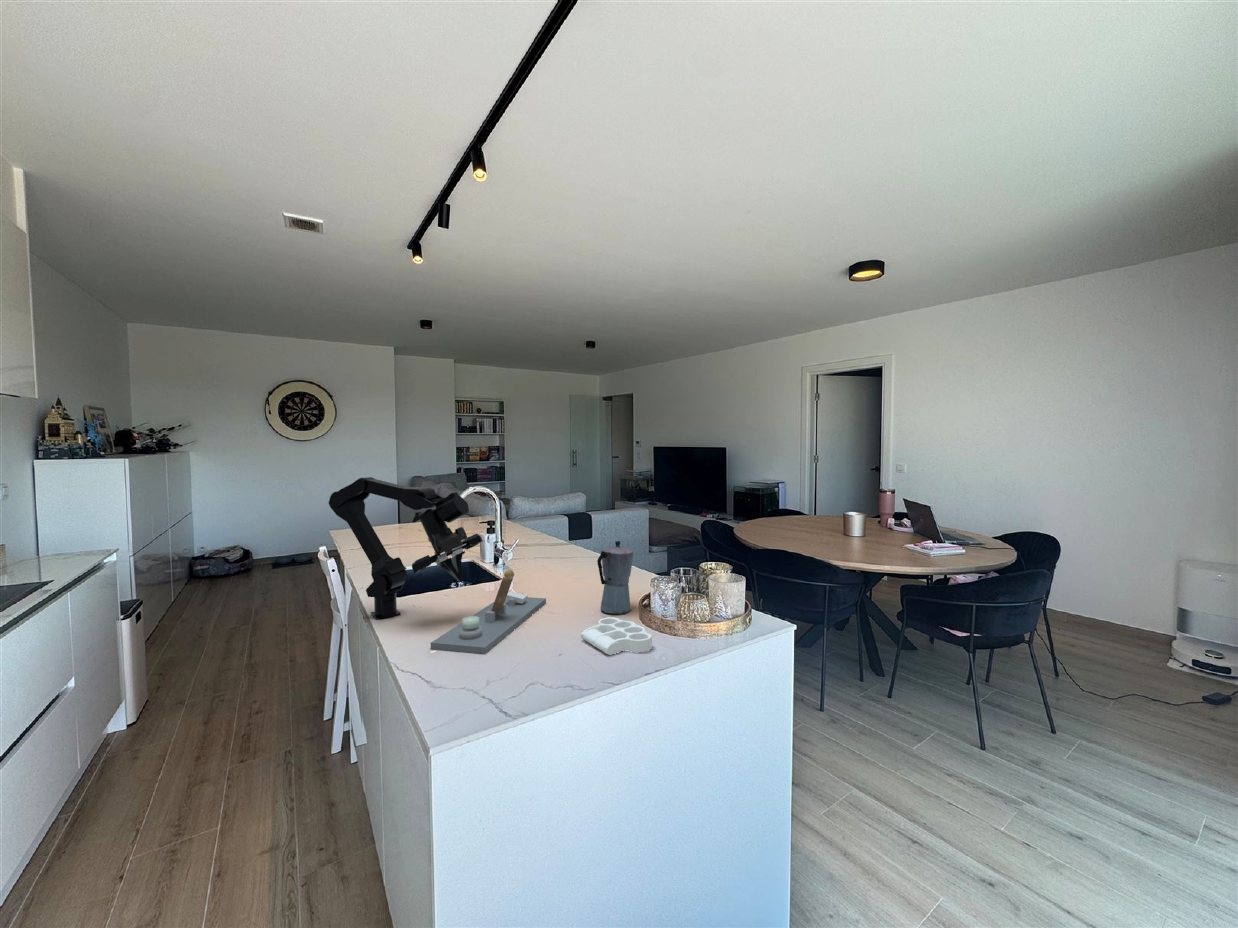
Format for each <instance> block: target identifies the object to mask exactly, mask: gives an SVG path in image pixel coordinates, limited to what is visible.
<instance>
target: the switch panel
mask: <svg viewBox="0 0 1238 928" xmlns="http://www.w3.org/2000/svg"><path fill="white" fill-rule="evenodd" d="M519 593H520V594H524V592H519ZM494 602H495V601H493V602H491V603H490V604H489V605H487V606H485V607H484V608H483V609H480V610H479V611H477V612H476V613H474V614H473V615H472V616H477V617H479V627H477V628H474V629H464V628H462V622H461V623H459V624H457V625H456V626H454V627H453V628H451V629H450V630H447V631H446V632H445V633H443V634H442V635H441V636H439V637H437V638H436V639H434V640H432V641H431V642H430V649H431V650H438V651H449V652H457V653H458V652H459V653H461V652H462V653H471V654H481V655H486V654H487V653H488V652H489V651H490V650H492V649H493V648H494V647H495V646H497V644H499V643H500V642H502V640H504V639H505V638H506V637H507V636H509V635H510V634H511V633H512V632H513V631H515V630H516V629H517V628H519V626H521V625H522V624H523V623H524V622H526V621H527V620H528V619H529V618H531V617H532V616H533V615H532V614H533V613H534V614H535V613H536V612H537V611H538V610H540V609H541V608H542V607H543V606H545V605H546V604H547V597H546V598H545V597H544V598H543V597H532V596H531V597H529V596H528V597H527V600H526V601H525V602H524V603H522V604H521V603H517V602H515V599H512V598H510V599H509V600H505V602H504V605H503V608H502V613H500V614H499V615H498V616H496V617H495V612H492V611H491V610H492V607H493V604H494ZM545 603H546V604H545ZM544 604H545V605H544ZM539 608H540V609H539ZM526 619H527V620H526ZM514 629H515V630H514Z"/></svg>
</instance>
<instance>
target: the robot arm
mask: <svg viewBox="0 0 1238 928" xmlns="http://www.w3.org/2000/svg"><path fill="white" fill-rule="evenodd" d="M370 495H375V496H378V497H379V496H380V497H384V498H387V499H391V500H395V501H398V502H400V503H401V504H402V505H403V506H405V507H407V508H409V509H411V510H414V511H417V512H415V513H414V517H413V518H412V523H419V522H420V523H421V525H422V528H423V529H424V532H425V534H426V536H427V540H428V542H429V543H430V544H431V546H432V549H433V550H434V555H431V556H430V555H425V556H423V557H421V558H419V559H416V560H414V562H412V564H411V568H412V571H413V573H414V574H418V573H420V572H422V571H423V570H426V569H427V567H430V566H432V564H433V563H435V564H436V565H435V567H436V568H439V567H441V568H442V569H443V570H445V572H447V573H449V574H450V576H452V577H453V578H454V579H455V580H457V582H458V583H460V582H463V581H464V578H463V577H464V576H463V568H462V567H463V566H462V565H463V564H462V559H463V555H464V554H466V551H465V550H469V549H471V548H474V547H476V546H477V545H479V544H481V543H482V542H483V539H482V537H481V535H480V534H478V533H475V534H472V535H470V536H468V535H467V532H466V531H465V529H464V527H463V526H460V527H457V528H455V529H454V532H453V531H452V529H451V528H450V527H449V526H448V525H447V523H452V522H454V521H457V520H458V519H460V518H461V517H463V516H465V515H467V514H468V513H469V510H470V509H469V503H468V502H467V500H465V499H464V498H463V497H462V496H460V495H459V494H458V491H454V492H451V493H449V494H448V495H447V496H445V497H444V496H442V495H439V494H438V493H437V492H436V491H435V489H433V488H432V487H426V486H425V487H424V486H423V487H422V486H404V485H400V484H397V483H392V482H388V481H384V480H381V479H377V478H374V477H371V476H368V477H367V476H366V477H359V478H358V479H356V480H355V481H353V482H352V483H350V484H349V485H346V486H344V487H342V488H340V489H339V490H337V491H334V492H332V493H331V494H330V496H329V500H328V506H329V508H330V509H331V510H332V511H333V512H334V514H335V516H337V517H339V518H340V519H342V520H343V521H345V522H346V523H347V525H348V527H349V528H350V530H351V531H352V533H353V535H354V536H355V538H356V540H357V542H358V543H359V545H360V547H361V549H362V550H363V552H364V554H365V555H366V558H367V559H368V561H369V563H370V564H371V570H370V571H371V573H370V575H371V578H372V582H371V583H370V585H369V586H367V588H366V589H365V592H366V594H367V597H368V598H373V601H374V602H373V605H374V611H371V612H370V615H371V614H372V615H371V616H372V617H373V618H374V619H375V620H382V619H385V618H391V617H396V616H401V611H399V610H398V609H397V608H398V607H397V606H398V605H397V592H398V591H401V590H403V587H404V585H405V583H406V581H407V577H408V573H407V571H406V570H407V567H406V566H405V565H404V563H403V561H402V559H401V558H400V557H399V556H398V557H395V558H393V557H392V556H390V555H389V554H388V552H387V550H386V548H385V547H384V545H383V543H382V541H381V539H380V538H379V535H377V533H376V531H375V529H374V528H373V526H372V524H371V522H370V521H369V519H368V517H367V516H366V514H365V511H366V503H365V500H366V499H367V498H368V497H370ZM431 508H434V509H431ZM424 509H426V510H425V511H423V512H422V511H421V510H424ZM419 510H420V511H419ZM464 549H465V550H464ZM449 556H451V557H449Z"/></svg>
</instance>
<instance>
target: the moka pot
mask: <svg viewBox="0 0 1238 928" xmlns="http://www.w3.org/2000/svg"><path fill="white" fill-rule="evenodd" d="M614 544H615V546H613V547H607V548H603V549H601V551H600V555H599V557H598V558H597V560H596V561H597V567H598V572H599V573H598V574H599V577H600V578H599V579H600V583H601V585H603V591H602V597H601V602H600V611H602V612H604V613H606V614H613V615H619V614H621V615H622V614H627V613H629V612H631V611H632V610H631V609H632V607H631V599H630V587H629V586H630V585H629V582H630V577H631V572H632V567H633V566H632V565H633V559H634V554H635V553H634V550H632V548H629V547H622V546H621V541H619V540H618V541H617V540H616V541H615V543H614Z"/></svg>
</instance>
